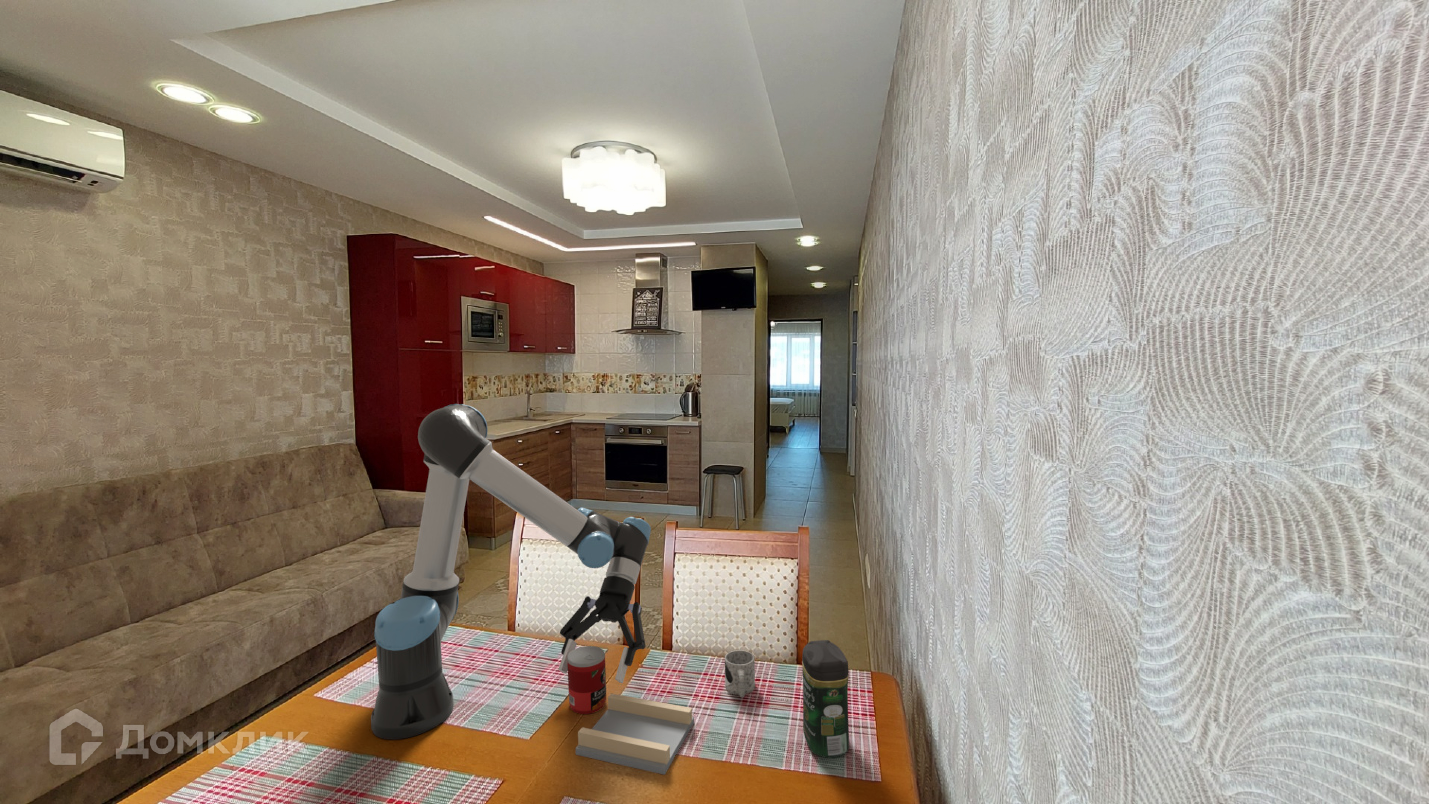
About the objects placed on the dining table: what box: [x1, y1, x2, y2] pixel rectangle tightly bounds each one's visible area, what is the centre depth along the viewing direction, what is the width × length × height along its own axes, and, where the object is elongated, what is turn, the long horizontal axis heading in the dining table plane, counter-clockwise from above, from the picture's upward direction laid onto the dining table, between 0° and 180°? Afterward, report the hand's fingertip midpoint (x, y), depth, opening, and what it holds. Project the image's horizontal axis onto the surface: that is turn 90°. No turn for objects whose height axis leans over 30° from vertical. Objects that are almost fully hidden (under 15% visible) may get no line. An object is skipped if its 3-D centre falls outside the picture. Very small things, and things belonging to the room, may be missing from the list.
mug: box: [724, 649, 756, 698], centre depth 125 cm, size 10×7×7 cm
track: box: [575, 693, 695, 775], centre depth 110 cm, size 18×15×4 cm
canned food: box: [567, 645, 607, 715], centre depth 121 cm, size 8×8×11 cm
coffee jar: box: [801, 639, 850, 758], centre depth 107 cm, size 10×8×19 cm
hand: (590, 676), depth 121 cm, fingers open, 13 cm apart
